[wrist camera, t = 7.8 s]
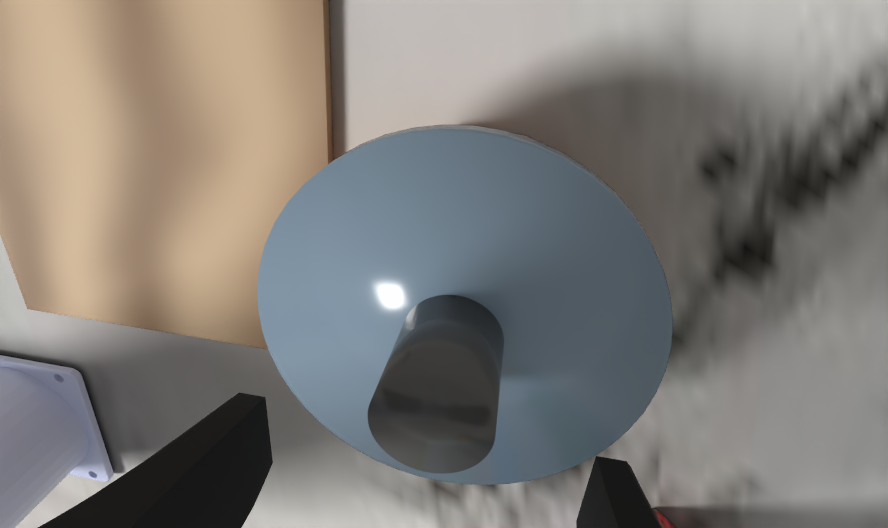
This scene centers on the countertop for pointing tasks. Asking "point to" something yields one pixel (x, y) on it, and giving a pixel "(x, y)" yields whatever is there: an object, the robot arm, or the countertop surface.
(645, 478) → the countertop surface
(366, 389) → the lid
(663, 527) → the snack box
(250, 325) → the oak board
